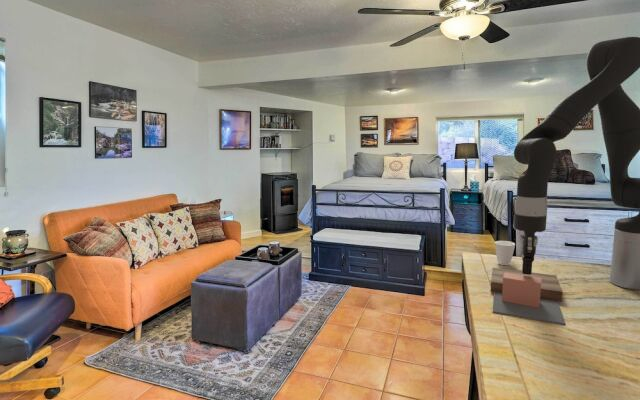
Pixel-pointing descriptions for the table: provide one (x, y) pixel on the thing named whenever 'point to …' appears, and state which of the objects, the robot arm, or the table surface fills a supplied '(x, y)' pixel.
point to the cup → (504, 251)
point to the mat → (529, 310)
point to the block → (521, 289)
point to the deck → (548, 282)
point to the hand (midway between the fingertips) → (526, 273)
